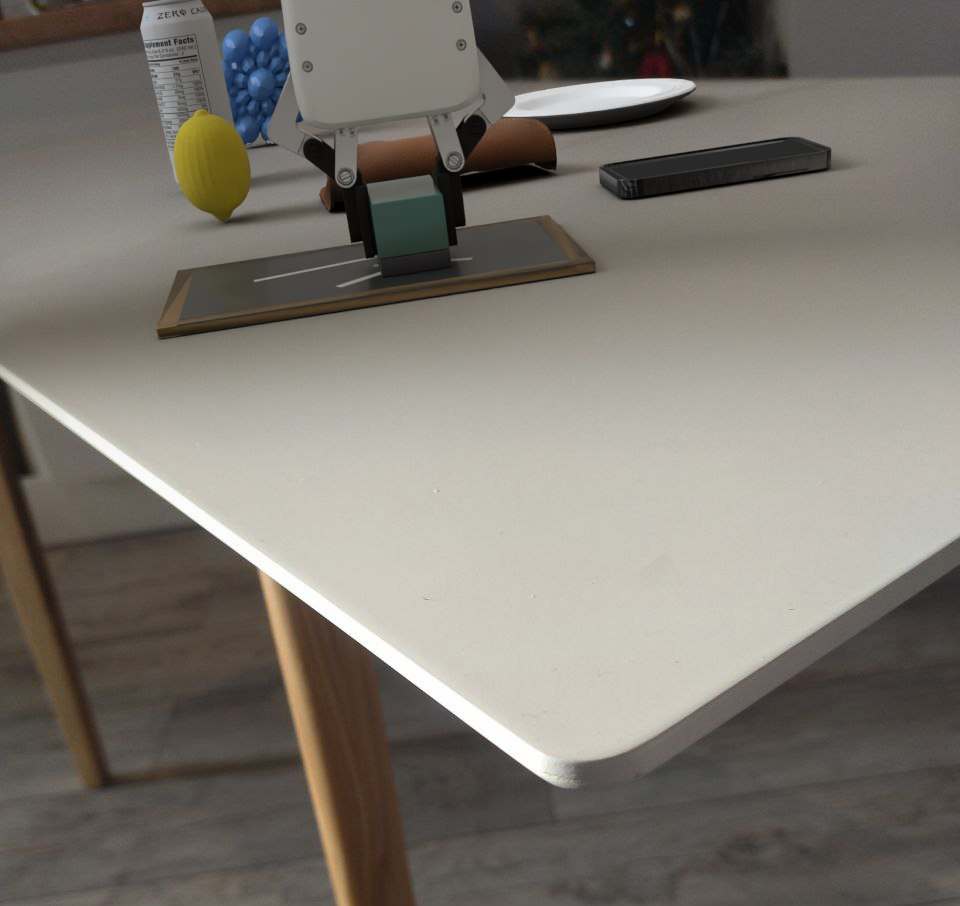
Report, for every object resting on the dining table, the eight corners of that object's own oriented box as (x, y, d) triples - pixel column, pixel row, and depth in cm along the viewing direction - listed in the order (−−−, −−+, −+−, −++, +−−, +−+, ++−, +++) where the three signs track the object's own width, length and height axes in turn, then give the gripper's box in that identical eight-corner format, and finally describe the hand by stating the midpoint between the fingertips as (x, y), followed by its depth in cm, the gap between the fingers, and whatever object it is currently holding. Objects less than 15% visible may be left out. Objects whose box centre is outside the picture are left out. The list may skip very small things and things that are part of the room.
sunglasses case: (525, 154, 101) (531, 81, 95) (553, 210, 97) (561, 138, 92) (312, 191, 97) (305, 118, 92) (333, 251, 94) (327, 179, 88)
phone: (595, 165, 89) (795, 134, 89) (596, 181, 89) (795, 151, 90) (620, 182, 82) (837, 149, 83) (621, 199, 82) (836, 166, 83)
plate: (440, 136, 120) (438, 115, 119) (569, 99, 133) (568, 80, 132) (613, 136, 107) (612, 113, 106) (738, 95, 120) (737, 74, 119)
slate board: (158, 339, 65) (155, 328, 65) (179, 279, 78) (177, 270, 77) (596, 272, 67) (595, 260, 67) (549, 224, 79) (548, 214, 79)
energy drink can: (259, 180, 109) (222, -8, 102) (217, 194, 105) (175, -1, 97) (207, 181, 112) (167, -2, 105) (164, 196, 108) (119, 6, 100)
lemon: (262, 221, 92) (239, 107, 88) (188, 234, 91) (162, 118, 87) (258, 209, 96) (236, 100, 92) (188, 221, 96) (162, 111, 92)
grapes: (329, 131, 133) (308, 9, 128) (328, 139, 128) (306, 11, 122) (223, 146, 133) (198, 24, 127) (217, 155, 127) (190, 27, 121)
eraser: (452, 267, 69) (442, 193, 67) (382, 277, 69) (370, 204, 67) (439, 242, 75) (430, 174, 73) (375, 252, 75) (364, 184, 73)
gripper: (507, -133, 66) (538, 215, 75) (200, -92, 65) (269, 255, 74) (530, -143, 60) (561, 239, 69) (189, -98, 59) (267, 283, 68)
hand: (409, 244), depth 72 cm, fingers closed on eraser, 4 cm apart
